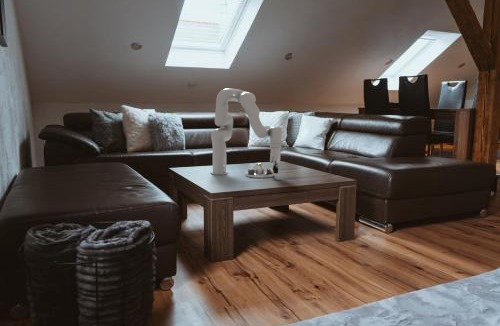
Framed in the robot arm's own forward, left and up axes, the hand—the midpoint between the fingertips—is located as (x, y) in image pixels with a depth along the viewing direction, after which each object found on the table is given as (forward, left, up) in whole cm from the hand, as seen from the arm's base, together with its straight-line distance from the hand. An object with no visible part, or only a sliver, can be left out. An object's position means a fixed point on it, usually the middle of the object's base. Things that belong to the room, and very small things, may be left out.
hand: (275, 173), depth 266 cm
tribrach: (-13, -8, -4) cm, 15 cm away
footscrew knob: (-4, -2, -2) cm, 5 cm away
